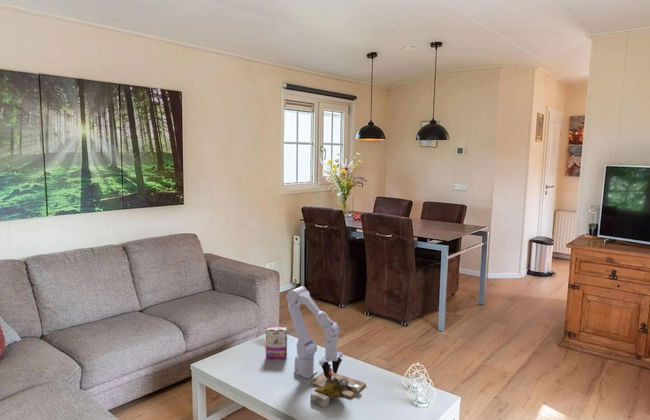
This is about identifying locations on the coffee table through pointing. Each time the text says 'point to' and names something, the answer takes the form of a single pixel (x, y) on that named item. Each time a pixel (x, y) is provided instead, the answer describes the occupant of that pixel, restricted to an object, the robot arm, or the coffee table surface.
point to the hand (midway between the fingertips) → (330, 374)
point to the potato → (331, 390)
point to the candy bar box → (276, 342)
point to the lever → (343, 382)
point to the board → (322, 381)
